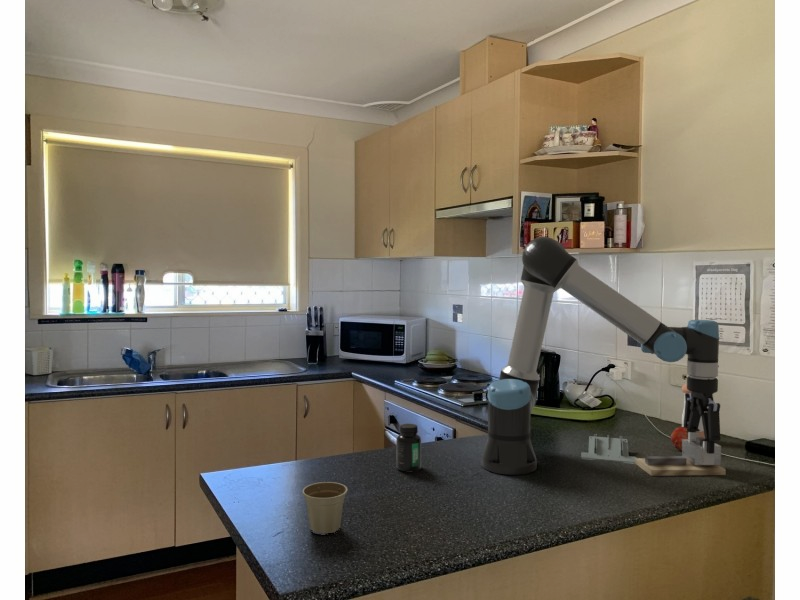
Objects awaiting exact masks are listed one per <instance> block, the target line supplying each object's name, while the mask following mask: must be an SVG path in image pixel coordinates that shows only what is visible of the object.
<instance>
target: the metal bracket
mask: <svg viewBox="0 0 800 600" xmlns="http://www.w3.org/2000/svg"><path fill="white" fill-rule="evenodd" d="M628 442H629V441H628V439H627V438H623V435H619V438H618V437H608V436H607V437H606V436H597V433H596V434H595V433H594V435H592V436H591V435H590V436H589V437H588V452H587V451H586V452H584V451H582V452H581V454H580V458H581V459H582V460H588V461H589V460H591V461H594V460H596V461H606V462H616V463H624V464H633V465H634V464H635V458H637V457H636V456H630V455H629V443H628ZM635 465H636V464H635Z"/></svg>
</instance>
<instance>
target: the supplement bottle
mask: <svg viewBox="0 0 800 600" xmlns="http://www.w3.org/2000/svg"><path fill="white" fill-rule="evenodd" d="M418 432H419V431H418V425H417V424H415V423H402V424H400V425H399V433H400V434H398V435H397V437H396V438H395V439H396V440H395V441H396V443H395V445H396V460H395V461H396V469H397V468H398V469H399V470H402V471H416V472H418V471H417V470H419V469H420V470H421V469H422V438H421V436H420V435H419V434H418ZM398 469H397V470H398ZM399 470H398V471H399ZM420 470H419V471H420ZM402 471H401V472H402Z"/></svg>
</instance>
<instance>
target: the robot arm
mask: <svg viewBox="0 0 800 600" xmlns="http://www.w3.org/2000/svg"><path fill="white" fill-rule="evenodd" d="M521 260H522V264H523V267H522V272H521V275H520V282H521V283H522V285H523V287H524V288H523V292H522V297H521V302H520V306H519V310H518V315H517V321H516V323H515V324H516V325H515V328H514V333H513V337H512V343H511V348H510V351H509V356H508V361H507V364H506V365H505V366H504V367H502V368H501V369H500V374H499V378H498V380H495V381H492V382H491V383H490V384H489V386H488V391H487V440H486V442H485V446H484V448H483V452H482V455H481V466H482V468H483V469H484V470H487V471H488V472H491V473H495V474H498V475H499V474H500V475H510V476H514V475H515V476H518V475H519V476H521V475H526V474H531V473H533V472H535V471H536V470H537V463H538V462H537V461H538V460H537V457H536V456H537V455H536V453H535V450H534V447H533V444H532V440H531V413H532V412H533V409H534V408H535V405H536V403H537V401H538V400H537V398H538V389H539V385H540V380H541V377H540V375H539V374H538V372H537V369H538V364H539V361H540V356H541V351H542V346H543V342H544V338H545V333H546V329H547V324H548V320H549V315H550V310H551V307H552V301H553V297H554V293H555V292H557V291H559V290H560V289H562V290H563V291H565V292H566V293H568V294H569V295H571V296H572V297H573V298H574V299H576V300H577V301H578V302H580V303H582V304H583V305H585V306H586V307H587V308H589V309H590V310H592V311H593V312H594V313H596V314H597V315H599V316H600V317H602V318H603V319H604V320H606V321H608V322H609V323H610V324H612V325H613V326H614V327H616V328H618V330H620V331H622V332H624V333H625V334H626V335H627V336H629V337H630V338H632V339H633V340H634V341H636V342H637V343H639V344H640V350H641V352H642V353H645V354H651V355H656V357H657V359H658V358H659V359H660V360H661V361H664V362H666V363H675V362H678V361H680V360H682V359H683V358H684V357H685V356H686V355H687V360H686V361H687V362H686V363H687V364H686V374H687V375H688V376H687V377H686V383H687V389H688V390H689V391H692V392H691V393H690V394H685V401H686V403H685V415H684V427H685V428H687V431H688V439H696V437H699V433H698V432H696V431H700V430H699V429H698V426H699V422H700V418H701V417H702V423H703V429H704V435H705V439H702V440H703V465H714V447H715V443H716V442H719V441H721V422H720V420H721V419H720V410H721V403H719V402H717V403H716V401H715V400H714V394H715V393H718V391H719V380H718V378H717V377H718V376H719V367H720V366H719V354H720V353H719V352H720V351H719V350H720V349H719V347H720V328H719V323H718V322H717V321H715V320H710V319H690V320H689V321H688V323H687V326H682V327H680V326H679V327H678V326H668V325H666V324H664V323H663V322H661V321H660V320H658V318H656V317H655V316H653V315H652V314H650V313H648V312H647V311H646V310H644V309H642V307H640V306H638V305H637V304H635V303H634V302H633V301H631V300H630V299H628V298H627V297H626V296H624V295H622V294H621V293H620V292H618V291H617V290H615V289H613V288H612V287H611V286H609V285H608V284H607V283H605V282H604V281H602V280H601V279H600V278H597V277H596V276H595V275H593V274H592V273H591V272H589V271H587V270H586V269H585V268H583V267H582V266H581V265H580V264H579V261H578V259H577V258H575V256H573V255H571V254H570V253H569V252H568V251H567V250H566V249H565V247H564V246H563V244H562V243H561V242H559V241H558V240H556V239H554V238H552V237H547V236H541V237H536V238H534V239H532V240H531V241H529V242H528V243H527V244H526V246H524V249H523V251H522V258H521ZM690 401H691V402H690Z"/></svg>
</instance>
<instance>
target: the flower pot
mask: <svg viewBox="0 0 800 600" xmlns="http://www.w3.org/2000/svg"><path fill="white" fill-rule="evenodd" d="M348 490H349V489H348V487H347V486H346V485H345V484H342V483H339V482H335V481H334V482H333V481H327V482H326V481H322V482H315V483H311V484H309V485H306V486H305V487H304V488H303V489H302V494H303V496H304V501H305V502H306V507H307V516H308V521H309V522H308V523H309V529H311V530H313V531H315V532H318V533H332V532H335V531H336V530H338V529H339V528H340V529H341V523H342V522H341V521H342V513H343V506H344V501H345V498H346V494H347V493H348ZM340 529H339V530H340ZM311 530H310V531H311Z"/></svg>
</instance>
